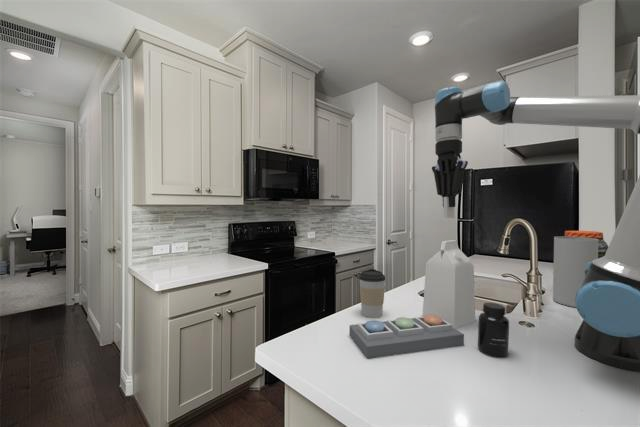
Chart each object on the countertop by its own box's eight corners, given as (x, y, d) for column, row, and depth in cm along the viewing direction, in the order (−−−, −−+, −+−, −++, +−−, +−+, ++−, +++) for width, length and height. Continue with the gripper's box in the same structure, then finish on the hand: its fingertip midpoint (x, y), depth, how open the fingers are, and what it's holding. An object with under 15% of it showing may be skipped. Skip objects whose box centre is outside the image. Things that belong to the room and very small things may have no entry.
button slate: (387, 332, 77) (387, 327, 77) (370, 335, 75) (370, 328, 75) (379, 325, 81) (379, 319, 81) (362, 327, 80) (362, 321, 80)
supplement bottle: (498, 360, 70) (499, 312, 70) (472, 348, 76) (472, 303, 76) (514, 354, 73) (515, 307, 73) (488, 342, 79) (488, 299, 79)
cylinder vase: (549, 303, 110) (551, 238, 109) (555, 296, 119) (557, 235, 118) (594, 312, 101) (596, 241, 100) (598, 303, 109) (599, 238, 109)
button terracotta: (446, 326, 81) (446, 320, 81) (430, 327, 80) (430, 322, 80) (435, 319, 86) (435, 313, 86) (420, 320, 85) (420, 315, 85)
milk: (443, 309, 104) (444, 238, 103) (475, 320, 94) (476, 241, 93) (422, 317, 97) (422, 240, 96) (454, 329, 88) (455, 244, 87)
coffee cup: (385, 320, 95) (385, 275, 94) (357, 318, 96) (357, 273, 96) (384, 310, 103) (385, 268, 103) (359, 308, 105) (359, 267, 105)
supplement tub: (601, 288, 129) (603, 231, 128) (613, 298, 116) (614, 234, 115) (556, 283, 137) (557, 229, 137) (562, 291, 124) (563, 232, 123)
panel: (463, 345, 78) (464, 328, 78) (367, 358, 71) (367, 340, 71) (433, 325, 90) (434, 311, 90) (349, 335, 84) (349, 320, 84)
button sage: (417, 329, 79) (417, 323, 79) (401, 331, 78) (401, 325, 78) (407, 322, 84) (407, 316, 84) (392, 323, 82) (392, 318, 82)
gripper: (424, 145, 94) (425, 217, 94) (453, 135, 81) (454, 218, 82) (443, 146, 96) (444, 217, 96) (475, 136, 83) (475, 218, 84)
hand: (449, 217), depth 89 cm, fingers closed
